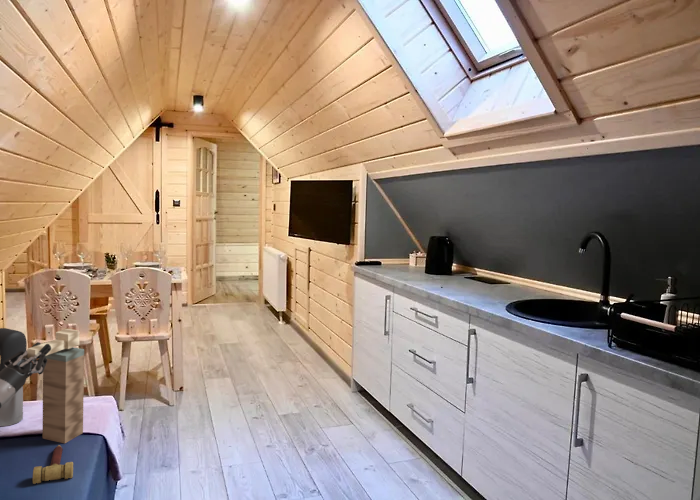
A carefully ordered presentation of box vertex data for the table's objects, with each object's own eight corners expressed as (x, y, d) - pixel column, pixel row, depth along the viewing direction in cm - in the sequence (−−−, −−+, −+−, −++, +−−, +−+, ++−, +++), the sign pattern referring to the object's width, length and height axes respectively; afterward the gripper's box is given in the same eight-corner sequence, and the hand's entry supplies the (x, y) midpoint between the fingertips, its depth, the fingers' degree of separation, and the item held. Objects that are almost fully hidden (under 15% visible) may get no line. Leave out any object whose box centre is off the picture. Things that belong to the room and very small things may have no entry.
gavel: (41, 441, 164) (76, 437, 169) (41, 455, 165) (76, 450, 169) (32, 471, 145) (72, 465, 150) (32, 487, 146) (72, 481, 150)
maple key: (38, 360, 158) (38, 344, 157) (24, 357, 159) (24, 342, 158) (79, 344, 174) (79, 330, 173) (67, 342, 175) (67, 328, 175)
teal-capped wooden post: (64, 443, 169) (66, 356, 166) (42, 438, 172) (43, 352, 168) (82, 432, 177) (84, 349, 174) (61, 428, 179) (62, 345, 176)
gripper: (-11, 391, 153) (31, 349, 167) (27, 399, 150) (67, 356, 163) (-23, 375, 149) (21, 333, 162) (16, 383, 145) (58, 339, 159)
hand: (44, 345), depth 163 cm, fingers closed on maple key, 3 cm apart
